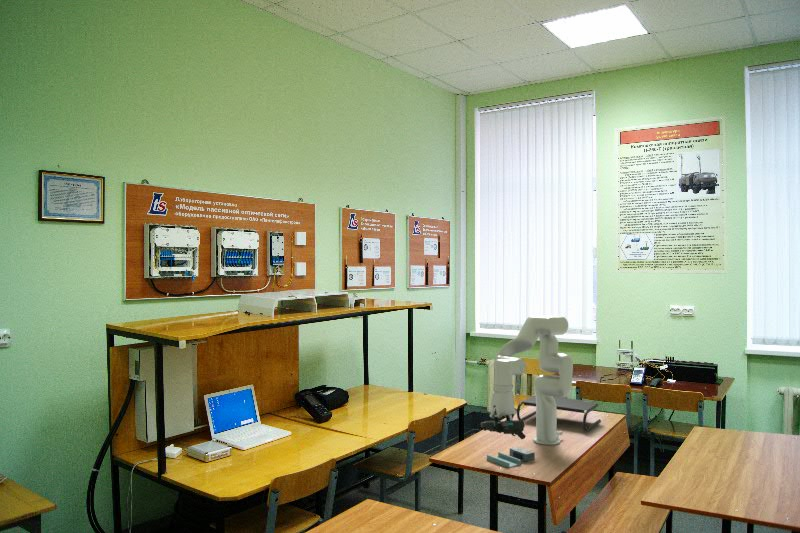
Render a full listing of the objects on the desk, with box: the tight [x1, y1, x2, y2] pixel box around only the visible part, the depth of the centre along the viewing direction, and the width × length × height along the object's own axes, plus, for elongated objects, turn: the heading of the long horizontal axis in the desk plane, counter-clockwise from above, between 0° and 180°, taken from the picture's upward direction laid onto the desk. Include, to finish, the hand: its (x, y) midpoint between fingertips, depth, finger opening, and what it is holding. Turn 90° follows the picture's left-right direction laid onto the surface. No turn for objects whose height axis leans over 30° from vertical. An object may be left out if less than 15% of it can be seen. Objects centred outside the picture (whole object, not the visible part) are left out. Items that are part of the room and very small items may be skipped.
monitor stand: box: [516, 394, 601, 432], centre depth 308 cm, size 37×28×11 cm
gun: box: [480, 419, 526, 440], centre depth 243 cm, size 4×20×10 cm, turn 45°
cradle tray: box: [486, 451, 522, 469], centre depth 243 cm, size 7×13×2 cm, turn 34°
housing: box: [509, 446, 536, 463], centre depth 248 cm, size 5×10×4 cm, turn 34°
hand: (503, 430), depth 243 cm, fingers closed on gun, 5 cm apart
